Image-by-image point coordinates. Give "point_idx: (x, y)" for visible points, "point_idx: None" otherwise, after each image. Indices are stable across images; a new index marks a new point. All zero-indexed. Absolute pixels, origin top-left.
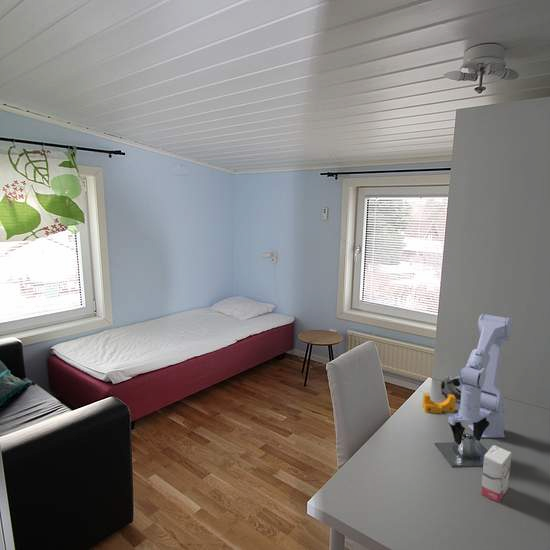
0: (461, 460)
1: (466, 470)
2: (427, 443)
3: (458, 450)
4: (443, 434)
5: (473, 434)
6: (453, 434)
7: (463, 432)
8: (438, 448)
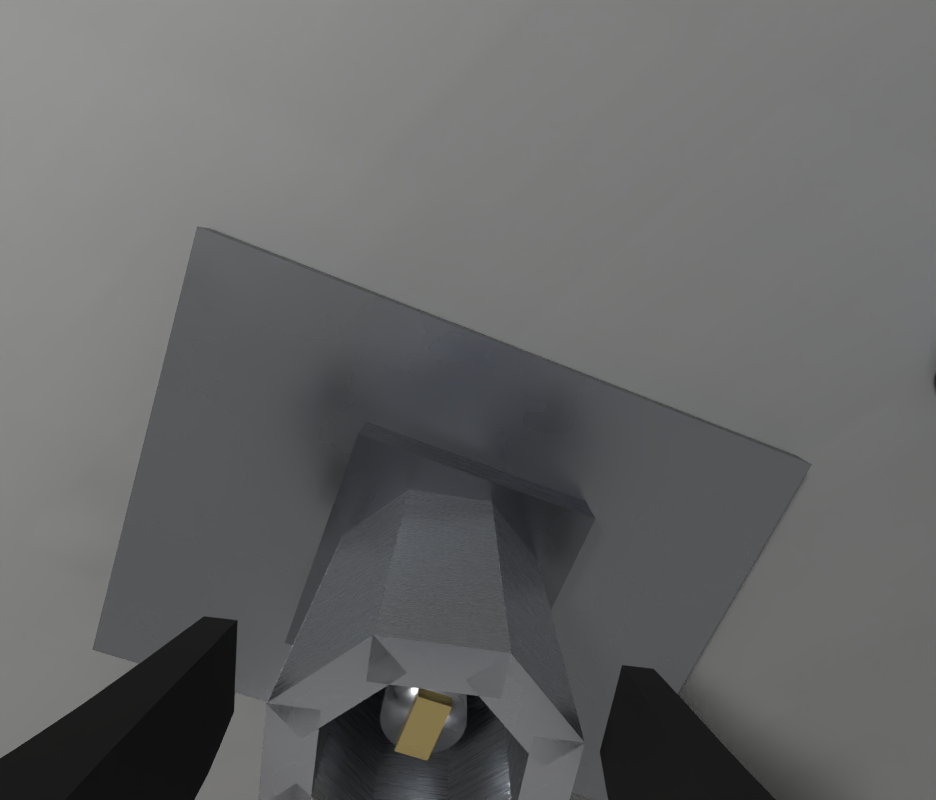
0: (263, 634)
1: None
2: (124, 164)
3: (327, 550)
4: (545, 73)
5: (644, 710)
6: (81, 713)
7: (463, 655)
8: (170, 347)
